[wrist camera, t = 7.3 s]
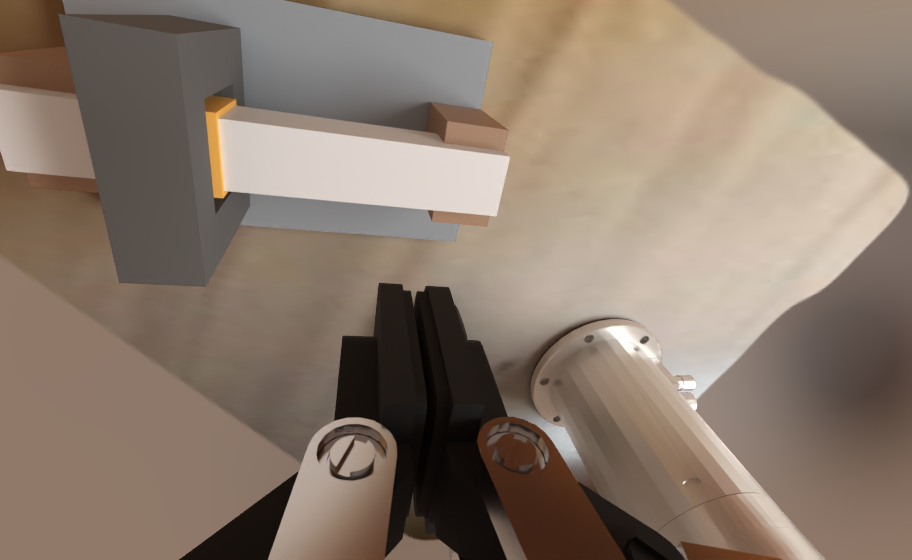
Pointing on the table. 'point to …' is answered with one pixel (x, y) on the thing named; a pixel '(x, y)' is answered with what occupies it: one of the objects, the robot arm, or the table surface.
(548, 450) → the robot arm
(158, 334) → the table surface
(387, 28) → the pipe stand
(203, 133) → the collar
